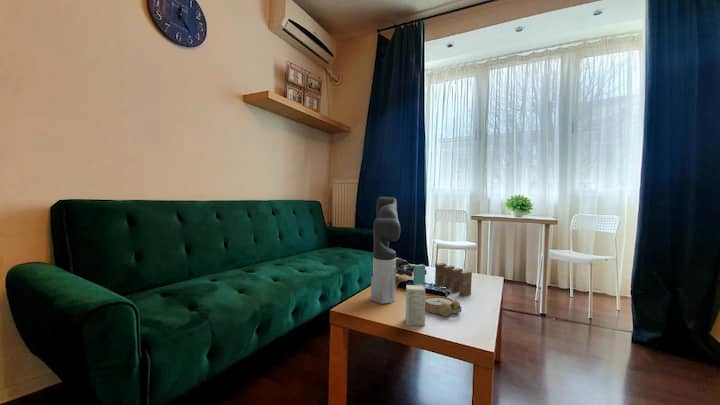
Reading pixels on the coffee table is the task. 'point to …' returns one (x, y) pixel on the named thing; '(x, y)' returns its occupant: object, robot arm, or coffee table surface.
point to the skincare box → (415, 305)
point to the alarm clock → (442, 305)
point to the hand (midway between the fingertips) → (418, 273)
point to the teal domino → (419, 274)
